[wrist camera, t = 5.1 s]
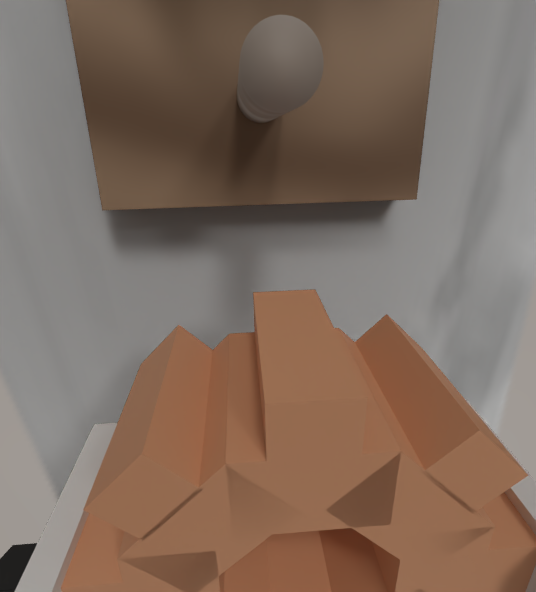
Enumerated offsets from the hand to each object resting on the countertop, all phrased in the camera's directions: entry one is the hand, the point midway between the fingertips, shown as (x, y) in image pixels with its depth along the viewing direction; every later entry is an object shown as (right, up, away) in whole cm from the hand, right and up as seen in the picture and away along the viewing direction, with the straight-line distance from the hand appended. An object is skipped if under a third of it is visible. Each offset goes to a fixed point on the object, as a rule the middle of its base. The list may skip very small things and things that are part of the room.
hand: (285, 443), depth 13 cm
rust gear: (0, 0, 0) cm, 0 cm away
